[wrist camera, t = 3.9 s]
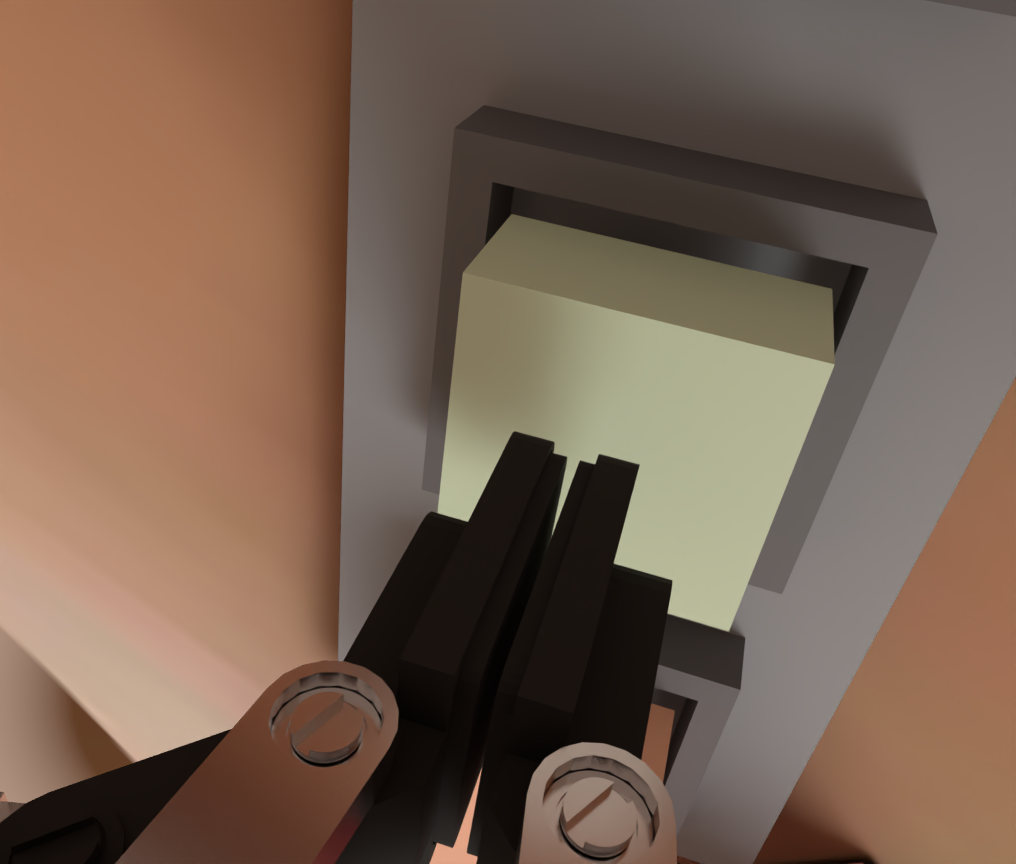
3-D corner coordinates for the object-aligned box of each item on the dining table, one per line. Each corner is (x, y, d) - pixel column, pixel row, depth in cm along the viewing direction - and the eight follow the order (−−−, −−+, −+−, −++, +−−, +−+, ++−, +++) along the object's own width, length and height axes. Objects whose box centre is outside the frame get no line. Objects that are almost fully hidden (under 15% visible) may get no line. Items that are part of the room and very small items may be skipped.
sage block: (831, 288, 13) (834, 364, 11) (739, 538, 16) (728, 631, 14) (511, 213, 14) (462, 272, 12) (477, 463, 17) (434, 543, 15)
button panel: (1655, -983, 8) (2080, -1401, 5) (749, 813, 26) (740, 933, 23) (447, -988, 10) (307, -1303, 7) (364, 686, 28) (312, 781, 25)
